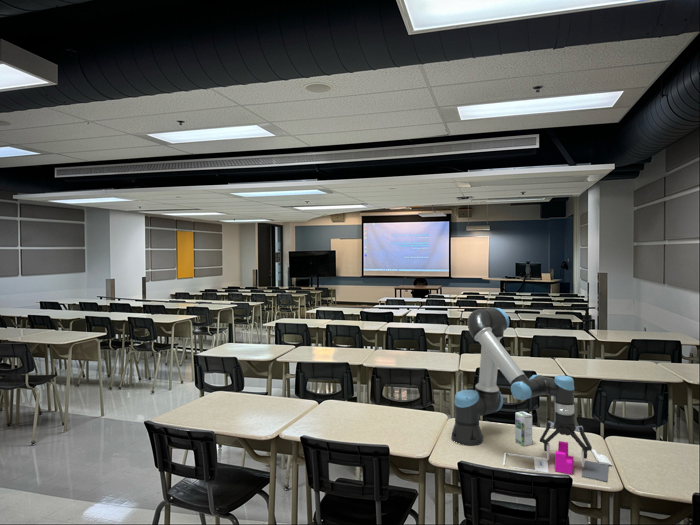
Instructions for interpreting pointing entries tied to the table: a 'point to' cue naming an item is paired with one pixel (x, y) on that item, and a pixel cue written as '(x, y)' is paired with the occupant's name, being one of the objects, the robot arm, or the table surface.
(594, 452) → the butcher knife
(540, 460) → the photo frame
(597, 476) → the mat
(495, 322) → the robot arm
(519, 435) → the syrup box
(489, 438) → the table surface
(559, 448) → the toy block
